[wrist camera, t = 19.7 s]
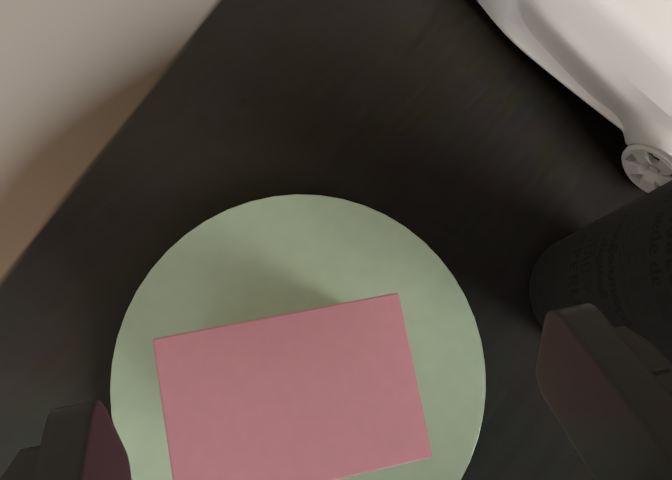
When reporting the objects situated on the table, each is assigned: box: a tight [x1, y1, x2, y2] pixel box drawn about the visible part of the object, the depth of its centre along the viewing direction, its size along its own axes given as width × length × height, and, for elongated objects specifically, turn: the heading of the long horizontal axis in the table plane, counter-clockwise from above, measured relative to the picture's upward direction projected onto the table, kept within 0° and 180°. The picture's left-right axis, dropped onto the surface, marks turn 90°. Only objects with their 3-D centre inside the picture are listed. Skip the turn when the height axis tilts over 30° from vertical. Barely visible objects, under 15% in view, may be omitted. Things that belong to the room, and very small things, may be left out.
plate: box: [110, 194, 486, 480], centre depth 22 cm, size 14×14×2 cm
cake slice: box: [153, 293, 432, 480], centre depth 18 cm, size 4×6×8 cm, turn 101°
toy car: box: [477, 0, 672, 193], centre depth 25 cm, size 18×8×4 cm, turn 42°
